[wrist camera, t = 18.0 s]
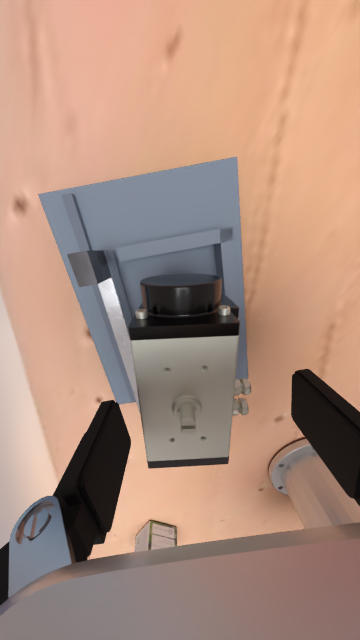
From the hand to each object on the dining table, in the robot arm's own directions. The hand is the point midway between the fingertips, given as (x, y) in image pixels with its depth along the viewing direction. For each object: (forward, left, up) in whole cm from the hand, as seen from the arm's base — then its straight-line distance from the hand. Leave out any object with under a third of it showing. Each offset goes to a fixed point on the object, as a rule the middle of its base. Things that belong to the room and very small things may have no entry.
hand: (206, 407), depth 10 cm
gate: (+1, +6, -10) cm, 12 cm away
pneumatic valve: (+1, 0, -11) cm, 11 cm away
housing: (+3, +2, -11) cm, 12 cm away
